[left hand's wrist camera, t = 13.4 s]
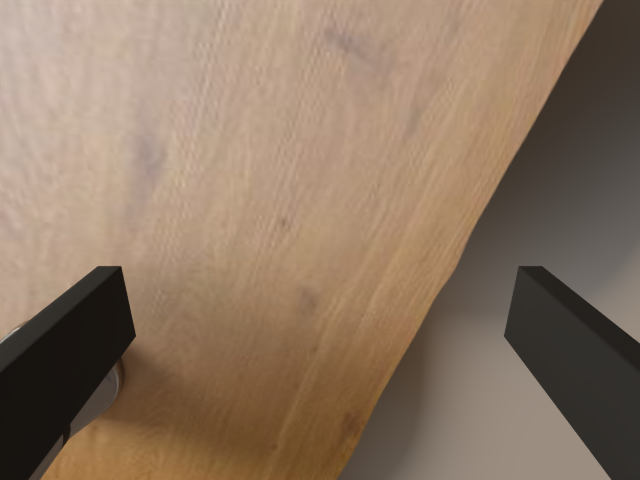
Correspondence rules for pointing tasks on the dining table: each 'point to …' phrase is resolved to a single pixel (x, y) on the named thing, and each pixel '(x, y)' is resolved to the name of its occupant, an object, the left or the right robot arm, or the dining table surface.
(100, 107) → the dining table surface
